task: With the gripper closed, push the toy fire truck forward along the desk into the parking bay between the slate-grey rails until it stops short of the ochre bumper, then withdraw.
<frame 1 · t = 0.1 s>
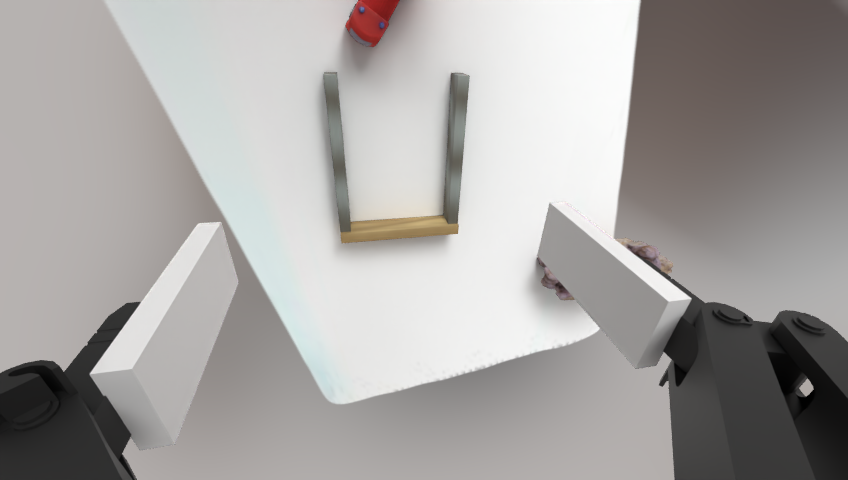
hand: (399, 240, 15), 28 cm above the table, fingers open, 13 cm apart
mineral specimen: (591, 256, 56), on the table
parking bay: (397, 153, 41), on the table
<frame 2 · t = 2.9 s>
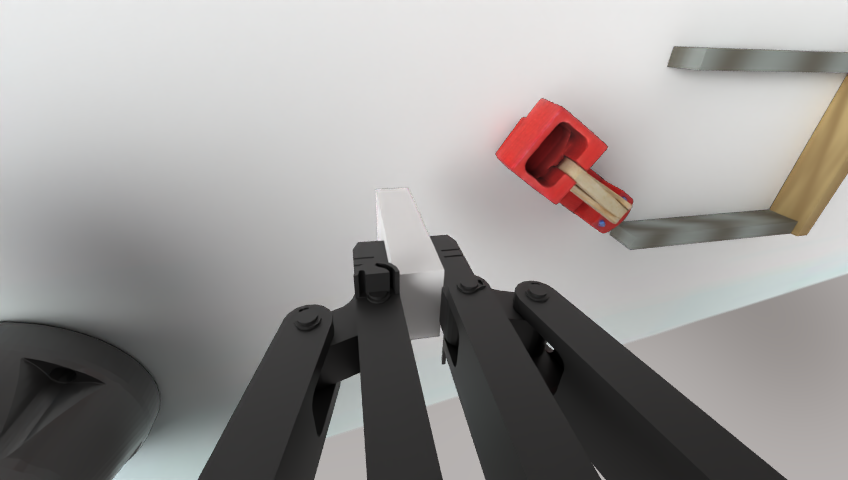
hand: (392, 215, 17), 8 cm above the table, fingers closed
toy fire truck: (534, 155, 26), on the table
parking bay: (726, 149, 29), on the table
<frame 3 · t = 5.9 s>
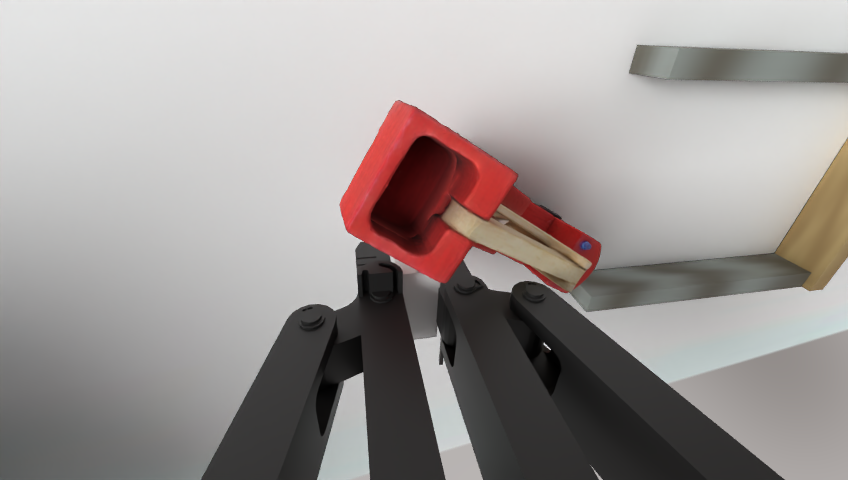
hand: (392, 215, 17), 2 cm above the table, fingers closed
toy fire truck: (462, 193, 19), on the table, touching gripper
parking bay: (717, 182, 22), on the table
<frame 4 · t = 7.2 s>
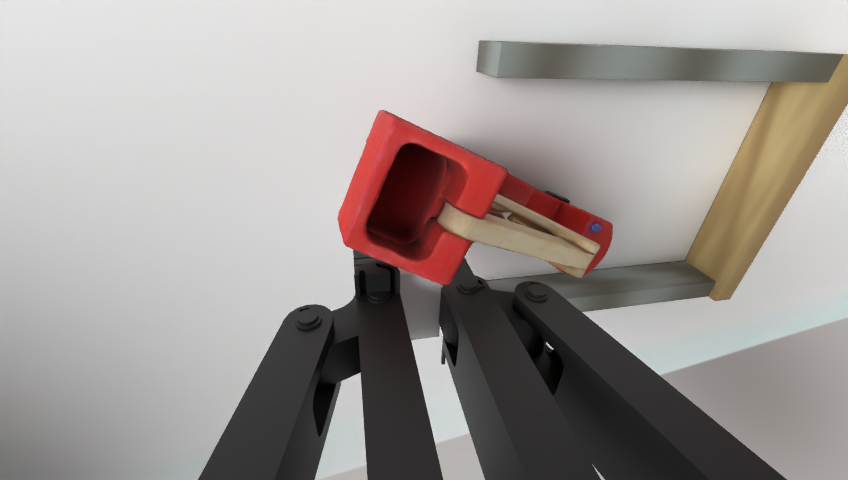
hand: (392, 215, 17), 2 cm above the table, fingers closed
toy fire truck: (465, 188, 19), on the table, touching gripper
parking bay: (604, 187, 21), on the table
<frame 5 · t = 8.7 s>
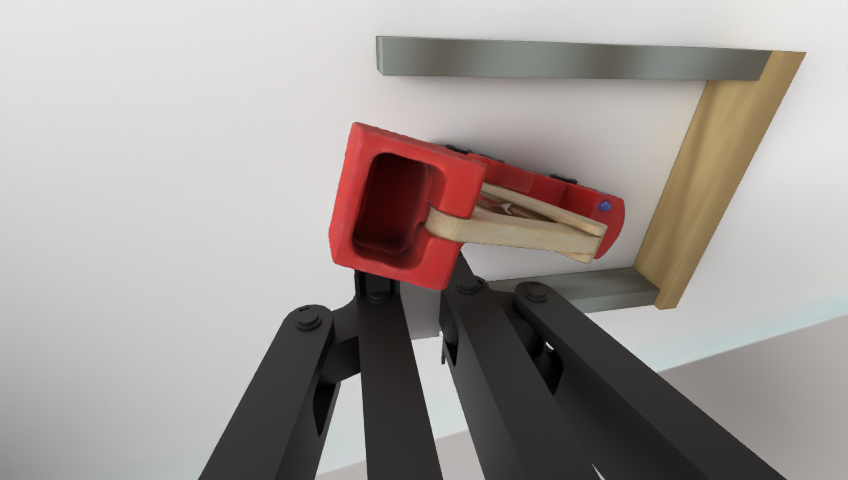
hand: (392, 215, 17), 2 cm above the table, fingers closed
toy fire truck: (466, 182, 19), on the table, touching gripper
parking bay: (535, 191, 20), on the table
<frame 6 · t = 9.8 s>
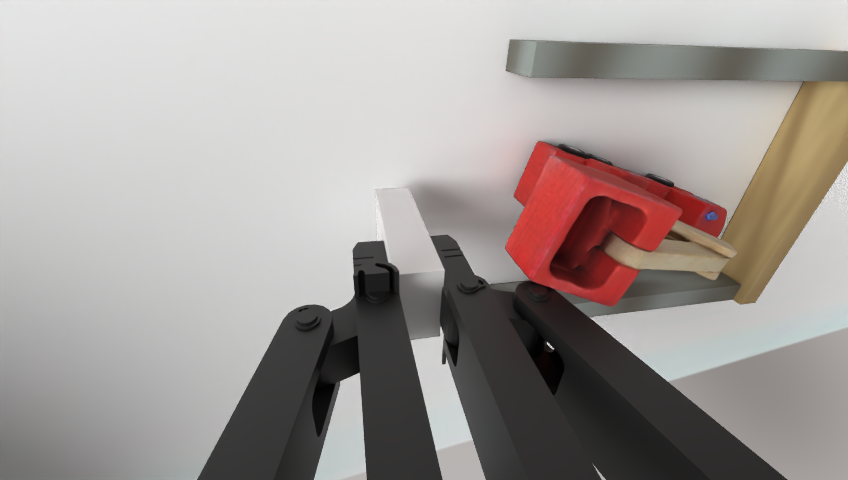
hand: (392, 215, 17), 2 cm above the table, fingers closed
toy fire truck: (567, 178, 19), on the table
parking bay: (629, 188, 20), on the table
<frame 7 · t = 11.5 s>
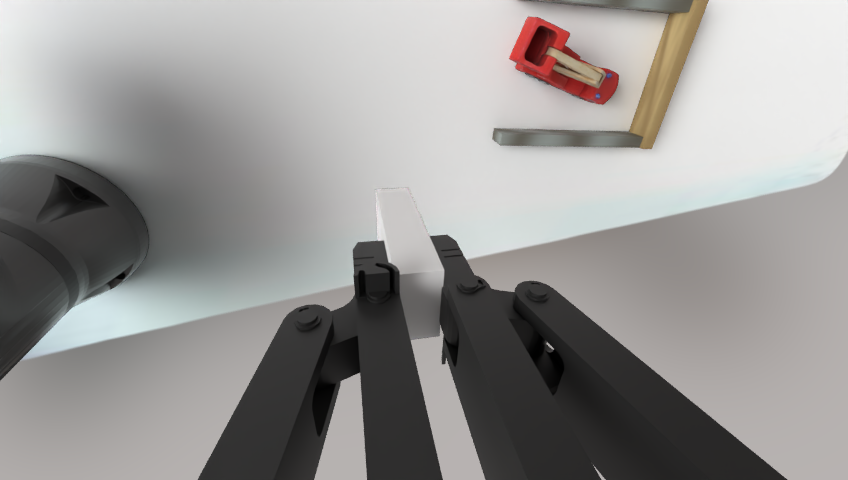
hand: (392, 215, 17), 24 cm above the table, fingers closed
toy fire truck: (544, 63, 37), on the table
parking bay: (578, 73, 38), on the table
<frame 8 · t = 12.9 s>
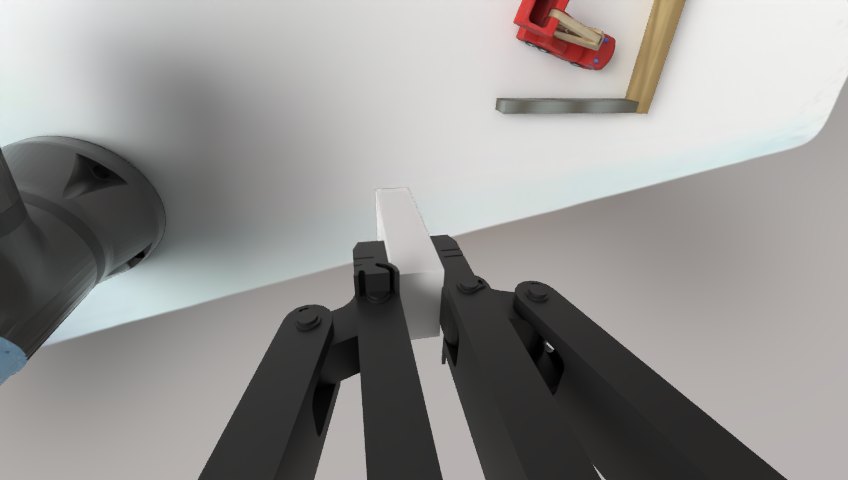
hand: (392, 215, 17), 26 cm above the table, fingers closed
toy fire truck: (543, 32, 39), on the table
parking bay: (575, 41, 40), on the table
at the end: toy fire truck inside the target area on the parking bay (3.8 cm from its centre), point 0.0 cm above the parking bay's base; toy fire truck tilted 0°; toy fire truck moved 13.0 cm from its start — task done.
